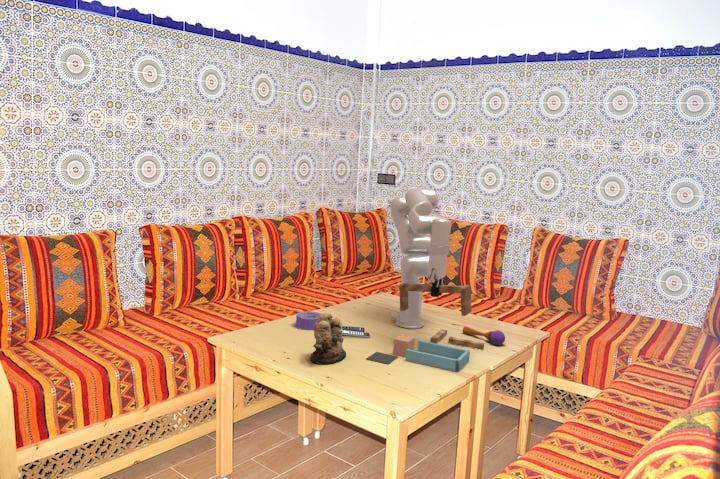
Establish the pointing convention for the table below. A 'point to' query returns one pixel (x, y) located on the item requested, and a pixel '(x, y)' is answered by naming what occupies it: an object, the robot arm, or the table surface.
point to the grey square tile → (382, 358)
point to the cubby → (443, 359)
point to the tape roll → (307, 320)
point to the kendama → (487, 335)
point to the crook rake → (463, 290)
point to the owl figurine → (328, 340)
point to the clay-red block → (402, 345)
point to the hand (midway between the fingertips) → (436, 295)
